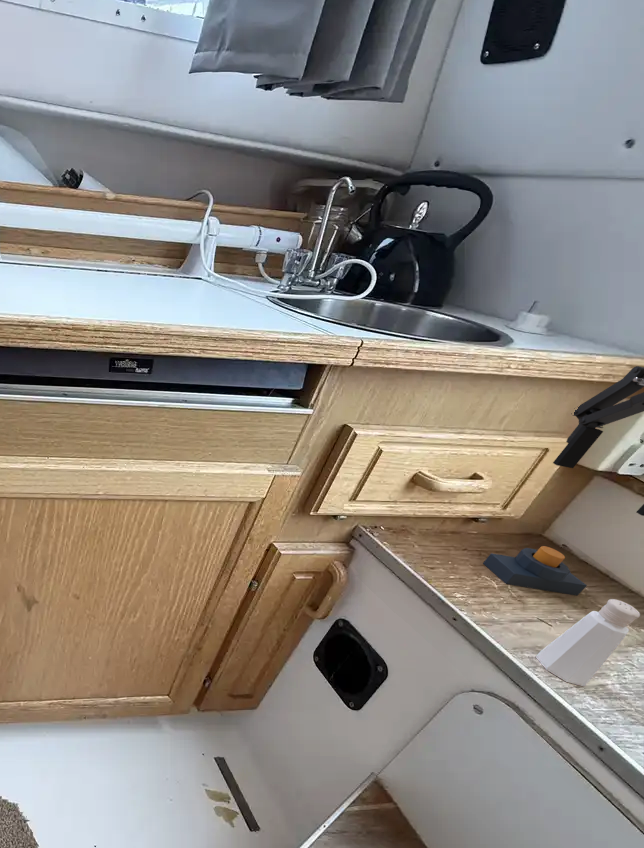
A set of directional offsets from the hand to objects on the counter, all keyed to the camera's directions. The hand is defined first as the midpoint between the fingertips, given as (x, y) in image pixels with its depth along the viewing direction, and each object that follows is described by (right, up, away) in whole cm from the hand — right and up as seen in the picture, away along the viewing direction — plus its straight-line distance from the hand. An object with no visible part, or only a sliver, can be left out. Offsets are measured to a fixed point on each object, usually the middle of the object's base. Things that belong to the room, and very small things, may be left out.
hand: (602, 489), depth 80 cm
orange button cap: (-2, -12, +6) cm, 13 cm away
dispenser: (-3, -15, +8) cm, 17 cm away
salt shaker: (-16, -23, -10) cm, 30 cm away
